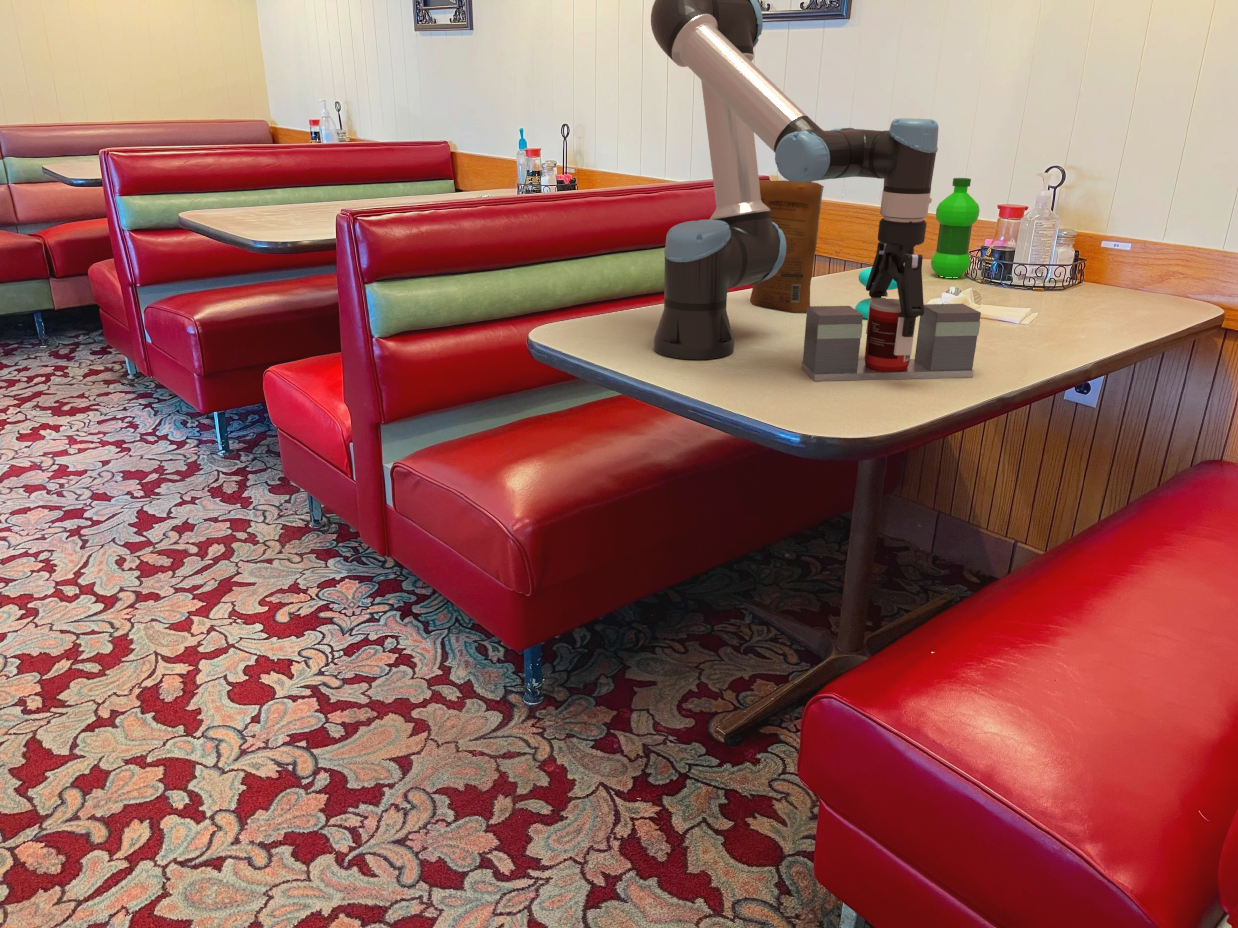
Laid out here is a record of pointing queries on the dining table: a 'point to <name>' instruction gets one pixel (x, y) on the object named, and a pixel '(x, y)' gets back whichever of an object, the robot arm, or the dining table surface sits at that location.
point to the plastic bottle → (955, 231)
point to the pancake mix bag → (791, 244)
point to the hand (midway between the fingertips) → (887, 344)
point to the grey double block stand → (938, 355)
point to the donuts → (864, 304)
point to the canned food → (884, 337)
